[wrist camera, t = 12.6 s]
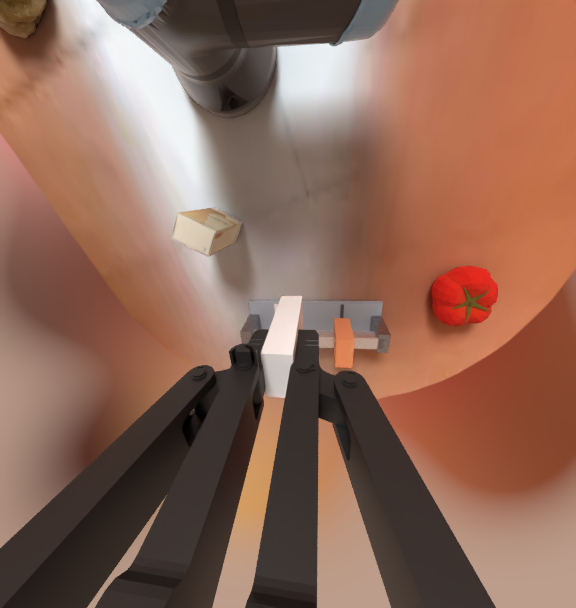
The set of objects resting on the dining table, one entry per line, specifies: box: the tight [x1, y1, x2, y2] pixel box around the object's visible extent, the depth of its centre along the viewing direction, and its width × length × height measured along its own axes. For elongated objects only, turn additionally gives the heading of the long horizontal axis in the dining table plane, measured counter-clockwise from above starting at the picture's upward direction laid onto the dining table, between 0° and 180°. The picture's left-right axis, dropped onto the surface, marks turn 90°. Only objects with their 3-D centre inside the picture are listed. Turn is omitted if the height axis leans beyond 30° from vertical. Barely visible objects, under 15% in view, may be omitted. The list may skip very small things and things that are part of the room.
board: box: [249, 300, 383, 331], centre depth 51 cm, size 28×10×1 cm, turn 93°
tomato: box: [431, 266, 498, 326], centre depth 42 cm, size 10×11×6 cm
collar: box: [334, 318, 355, 368], centre depth 44 cm, size 3×6×8 cm, turn 3°
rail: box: [241, 314, 391, 353], centre depth 48 cm, size 28×4×7 cm, turn 93°
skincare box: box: [172, 208, 242, 257], centre depth 39 cm, size 6×4×12 cm
